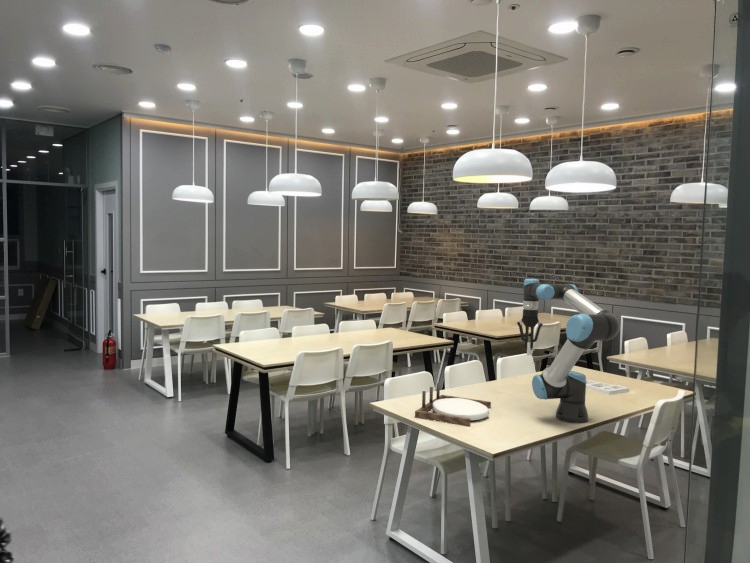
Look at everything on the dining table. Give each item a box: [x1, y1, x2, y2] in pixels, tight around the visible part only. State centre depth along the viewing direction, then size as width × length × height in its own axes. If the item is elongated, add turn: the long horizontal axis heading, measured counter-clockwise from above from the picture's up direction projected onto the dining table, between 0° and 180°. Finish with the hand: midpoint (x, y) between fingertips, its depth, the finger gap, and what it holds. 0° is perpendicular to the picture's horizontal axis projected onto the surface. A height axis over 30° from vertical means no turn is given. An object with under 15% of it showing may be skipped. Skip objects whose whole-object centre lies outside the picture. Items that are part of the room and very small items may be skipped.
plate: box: [432, 397, 490, 421], centre depth 286 cm, size 28×6×27 cm
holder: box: [586, 378, 630, 396], centre depth 357 cm, size 45×18×3 cm, turn 30°
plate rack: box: [414, 382, 492, 427], centre depth 289 cm, size 27×37×11 cm
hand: (528, 354), depth 297 cm, fingers closed
